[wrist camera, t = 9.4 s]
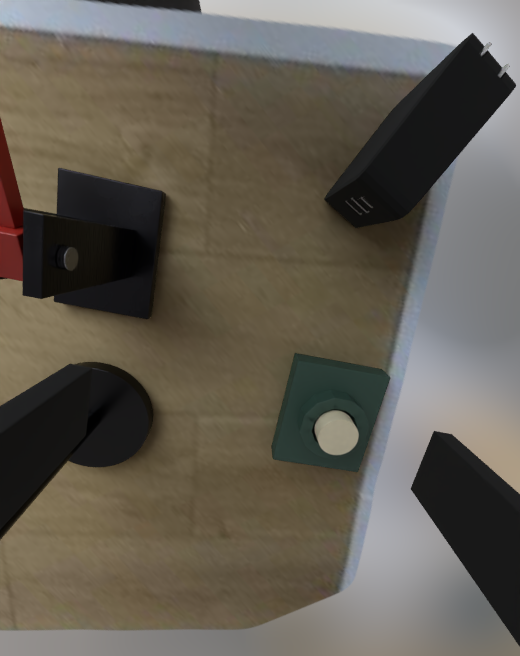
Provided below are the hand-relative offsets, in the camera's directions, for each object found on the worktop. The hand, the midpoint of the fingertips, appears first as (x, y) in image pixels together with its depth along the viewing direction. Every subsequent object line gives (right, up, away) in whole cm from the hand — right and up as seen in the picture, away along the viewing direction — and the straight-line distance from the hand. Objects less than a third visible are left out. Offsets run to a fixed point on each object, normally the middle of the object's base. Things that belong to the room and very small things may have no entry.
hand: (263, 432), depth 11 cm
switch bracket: (-14, +12, +17) cm, 25 cm away
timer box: (+7, -5, +23) cm, 24 cm away
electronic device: (+10, +19, +17) cm, 27 cm away
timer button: (+7, -6, +19) cm, 22 cm away
